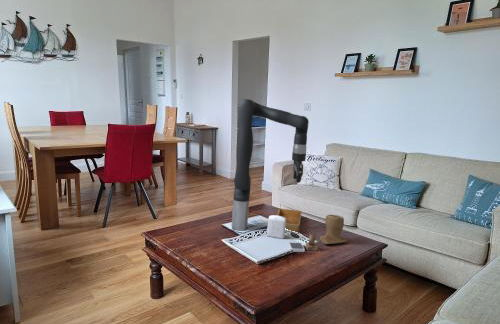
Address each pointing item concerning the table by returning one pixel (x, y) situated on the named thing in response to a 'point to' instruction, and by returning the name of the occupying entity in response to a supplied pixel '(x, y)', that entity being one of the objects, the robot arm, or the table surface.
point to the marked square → (317, 252)
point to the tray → (291, 218)
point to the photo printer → (276, 226)
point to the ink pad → (296, 247)
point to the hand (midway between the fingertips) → (296, 180)
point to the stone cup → (333, 230)
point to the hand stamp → (311, 244)
